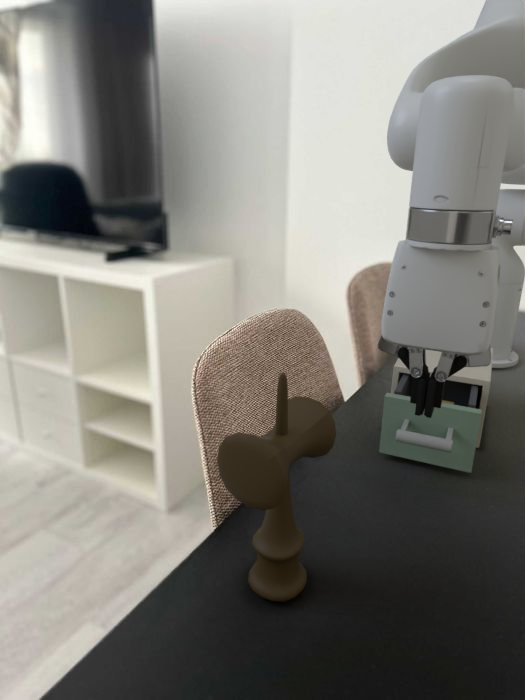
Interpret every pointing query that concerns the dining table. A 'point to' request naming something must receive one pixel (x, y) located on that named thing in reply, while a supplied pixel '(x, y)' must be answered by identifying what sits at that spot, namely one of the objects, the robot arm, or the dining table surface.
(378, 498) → the dining table surface
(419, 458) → the green drawer
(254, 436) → the kendama
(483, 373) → the small drawer cabinet
